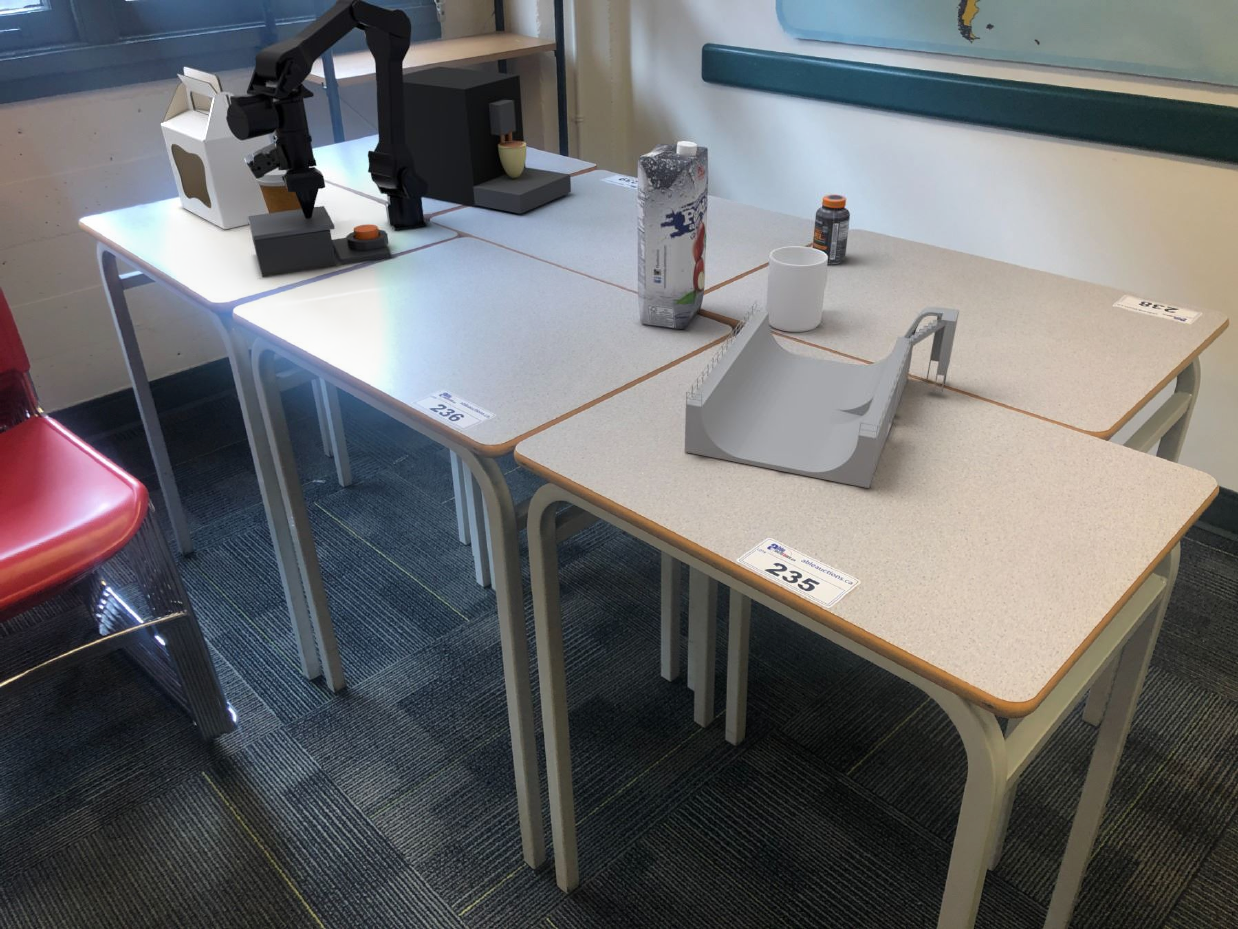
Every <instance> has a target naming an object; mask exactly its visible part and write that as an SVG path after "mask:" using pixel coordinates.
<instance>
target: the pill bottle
mask: <svg viewBox="0 0 1238 929" xmlns="http://www.w3.org/2000/svg"><path fill="white" fill-rule="evenodd" d="M821 205H822V206H821V207H819V208H818V209H817V210H816V211H815V216H814V218H815V219H814V227H813V228H814V229H813V240H812V248H814V249H818V250H820V251H822V252H824V253H826V254H827V256H828V261H827V265H837V264H840V263H843V262H844V261H845V259H846V254H847V245H848V236H849V231H850V230H849V229H850V218H851V214H850V211H849V210H848V208H846V205H847V197H845V195H842V194H833V193H832V194H826V195H824V196H823V197H822V201H821Z"/></svg>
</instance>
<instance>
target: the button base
mask: <svg viewBox="0 0 1238 929" xmlns="http://www.w3.org/2000/svg"><path fill="white" fill-rule="evenodd" d="M378 232H379V237H377V238H374V239H367V240H358V239H355V235H354V231H353V232H350V233H349V234H347V235H346V237H341V238H334V239H333V238H332V243H333V249H334V253H335V254H336V256H337V258H338V261H339V262H340V264H341V266H346V265H353V264H360V263H366V262H372V261H374V262H375V261H381V260H388V259H392V254H391V251H390V249H389V248H388V244H390V243H389V242H390V241H389V236H388V233H387V232H386V230H382V229H379V228H378Z"/></svg>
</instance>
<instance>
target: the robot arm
mask: <svg viewBox="0 0 1238 929" xmlns="http://www.w3.org/2000/svg"><path fill="white" fill-rule="evenodd" d="M354 29H356V30H359V31H362V32H363V33H364V37H365V38H364V39H365V43H366V46H367V47H368V49H369V51H370V53H371V55H372V58H373V60H374V64H375V66H374V67H375V86H376V108H377V130H378V131H377V132H378V142H377V144H376V146H375V148H374V150H368V151H367V159H368V170H367V172H368V173H369V174H370V178H371V181H372V182H373V183H374V184H375V185H376V186H377V189H378V191H379V193H380V194H382V195H386V199H387V201H385V203H384V205H385V212H386V219H387V223H388V224H389V226H391V227H392V229H393V230H394V231H402V230H403V231H404V230H411V229H418V228H425V227H427V226H428V223H427V222H426V221H425V217H424V216H425V215H424V208H423V197H422V196H424V195H427V189H428V183H427V182H426V181H424V180H423V179H422V178H421V177H420V176H419V175H418V174H417V173H416V172H415V166H414V160H413V157H412V155H411V153H410V151H409V149H408V147H407V145H406V143H405V124H404V94H403V75H404V74H403V73H404V71H403V64H404V60H405V58H406V56H407V53H408V52H409V50H410V48H411V40H412V22H411V18H410V17H408V15H407V13H406V12H405V11H404V10H402V9H399V8H389V7H388V8H386V7H381V6H378V5H375V4H371V3H369V2H367V1H364V0H337V1H336V2H334V5H333V6H331V7H330V8H329V9H328V10H326V11H325V12H324V13H323V14H321V15H320V16H319V17H317V18H316V19H315V20H314V21H313V22H311V23H310V24H309V25H307V26H306V27H305V28H304V29H302V30H301V31H300V32H299V33H297V34H296V35H295V36H293V37H291V38H289V39H285V40H282V41H279V42H275V43H274V44H272V45H269V46H267V47H265V48H263V49H261V50H260V51H258V53H257V54H256V56H255V64H254V66H255V67H254V69H253V73H252V75H251V78H250V81H249V83H248V87H247V89H246V94H242V95H239V94H237V95H235V94H234V96H230V101H231V105H230V106H229V107H228V109H227V116H226V120H227V123H228V126H229V128H230V130H231V132H232V133H233V135H234V136H235V137H236V138H237V139H239V140H247V139H251V138H255V137H259V136H263V135H268V134H269V135H271V134H273V135H272V138H273V139H272V140H273V143H271V145H268V146H266V147H263V148H261V149H259V150H257V151H255V152H253V153H251V154H249V155H248V156H246V157H245V161H246V163H247V165H248V167H249V168H250V170H251V171H252V173H253V175H254V176H255V178H256V179H259V178H261V177H263V176H264V175H265V174H267V173H269V172H271V171H272V170H274V169H276V168H278V170H286V174H285V175H284V176H282V179H283V181H284V184H285V186H286V188H287V190H288V192H295V194H296V196H297V199H298V201H299V204H300V206H301V209H302V211H303V214H304V216H305V218H306V219H307V218H311V217H312V214H313V209H314V207H315V205H316V201H317V197H318V193H319V190H320V189H321V190H322V189H324V188H326V183H325V178H324V175H323V173H322V171H321V170H319V169H318V168H317V160H316V158H315V155H314V149H313V144H312V142H313V138H312V135H311V133H310V128H309V122H308V119H307V112H306V106H305V100H304V99H310V98H313V97H315V96H314V92H312V91H311V90H310V89H309V88H307V87H306V86H305V85H304V84H303V82H305V80H306V79H307V78H308V76H310V74H311V72H312V71H313V66H314V63H315V62H316V61H317V59H318V58H320V57H321V56H322V55H323V54H325V53H326V52H327V51H328V50H330V48H331V47H333V46H334V45H336V44H337V43H338V42H339V41H340V40H341V39H343V38H345V36H347V34H349V33H350V32H351V31H353V30H354Z"/></svg>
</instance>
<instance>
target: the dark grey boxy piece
mask: <svg viewBox="0 0 1238 929" xmlns="http://www.w3.org/2000/svg"><path fill="white" fill-rule="evenodd" d="M248 225H249V229H250V234H251V239H252V242H253V243H252V244H253V248H254V251H255V256H256V259H257V263H258V266H259V270H260V274H261V277H262V278H267V277H273V276H275V277H276V276H280V275H288V274H295V273H300V272H301V273H302V272H308V271H314V270H322V269H329V268H336V267H337V260H336V255H335V254H336V253H335V250H334V248H333V243H332V240H333V238H332V233H331V230H324V231H317V232H310V233H303V234H296V235H289V236H281V237H274V238H267V239H260V240H254V238H253V234H252V231H251V227H250V224H248Z"/></svg>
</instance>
